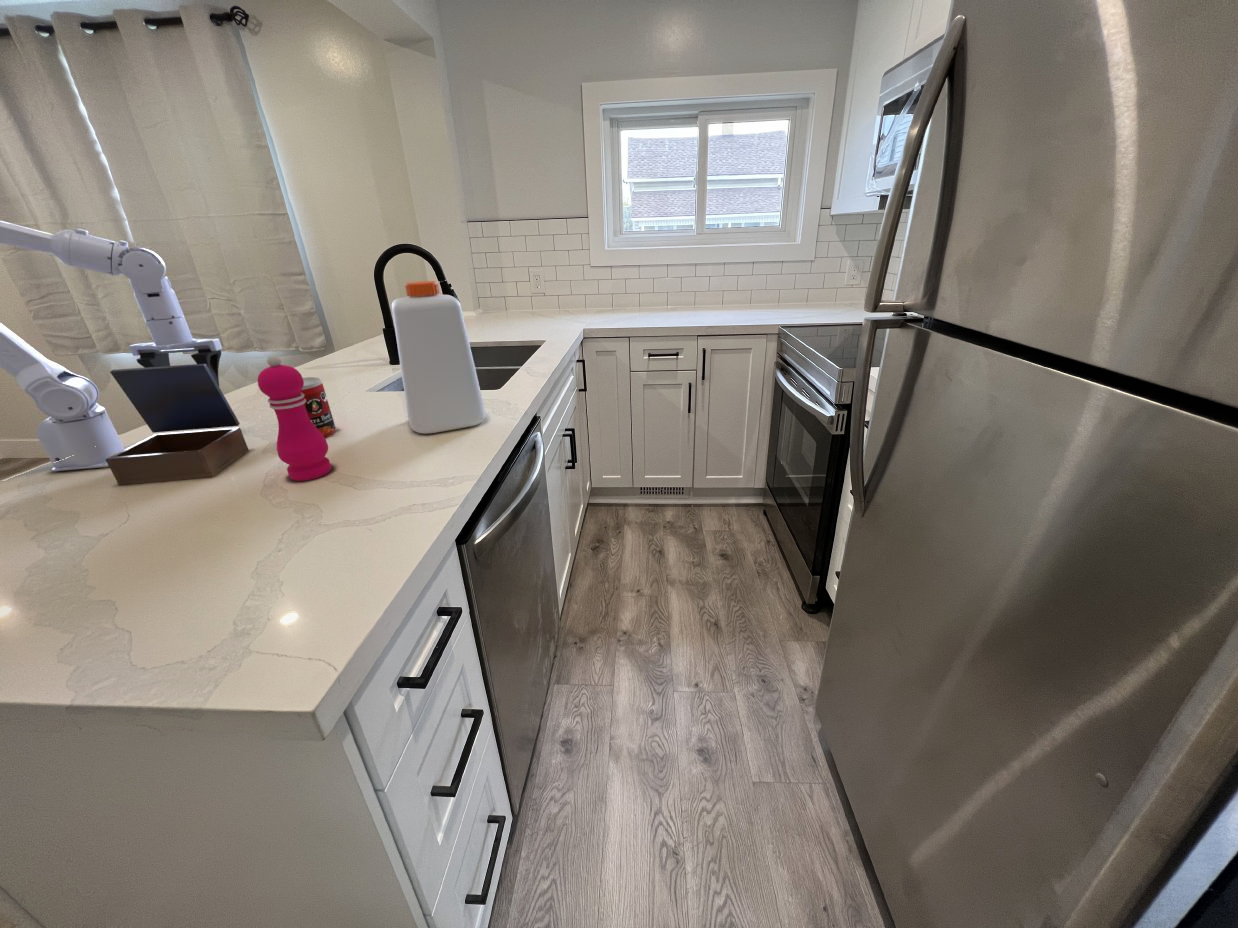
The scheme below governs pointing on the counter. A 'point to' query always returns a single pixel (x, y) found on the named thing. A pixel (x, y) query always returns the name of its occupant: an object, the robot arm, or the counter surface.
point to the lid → (176, 397)
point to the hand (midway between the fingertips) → (193, 389)
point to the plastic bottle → (436, 361)
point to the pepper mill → (294, 422)
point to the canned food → (318, 406)
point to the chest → (178, 456)
